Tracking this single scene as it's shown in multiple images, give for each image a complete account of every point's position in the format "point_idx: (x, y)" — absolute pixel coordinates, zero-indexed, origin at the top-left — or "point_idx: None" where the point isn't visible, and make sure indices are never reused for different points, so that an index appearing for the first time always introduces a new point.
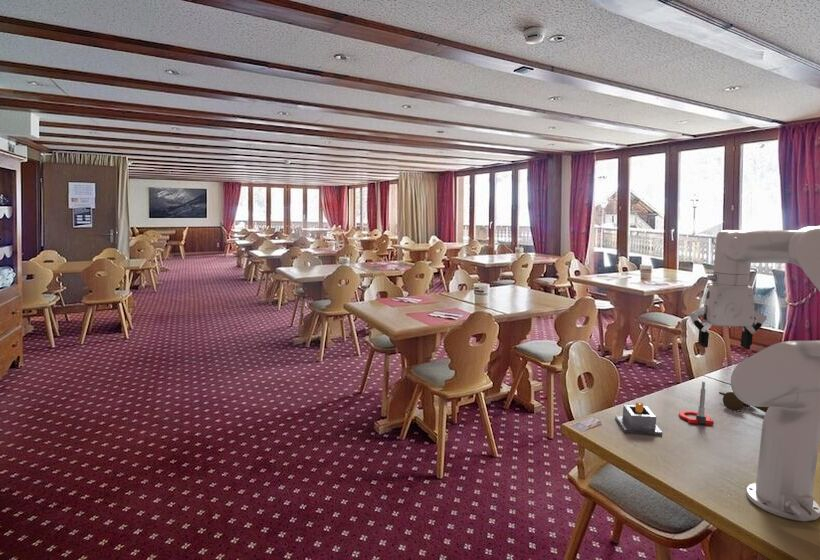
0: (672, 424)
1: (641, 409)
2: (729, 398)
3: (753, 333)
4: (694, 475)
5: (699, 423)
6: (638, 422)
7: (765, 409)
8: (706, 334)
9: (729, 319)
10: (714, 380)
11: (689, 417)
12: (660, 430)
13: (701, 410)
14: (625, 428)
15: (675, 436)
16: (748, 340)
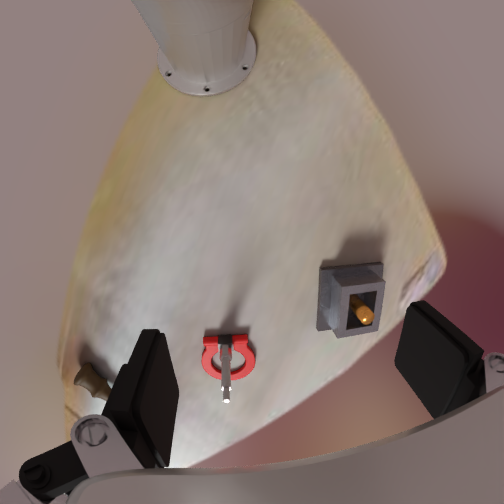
0: (280, 323)
1: (362, 307)
2: None
3: (91, 417)
4: (315, 115)
5: (229, 335)
6: (367, 277)
7: (107, 388)
8: (473, 341)
9: (462, 495)
10: None
11: (241, 351)
12: (322, 278)
13: (227, 352)
14: (380, 270)
15: (295, 271)
16: (143, 369)
